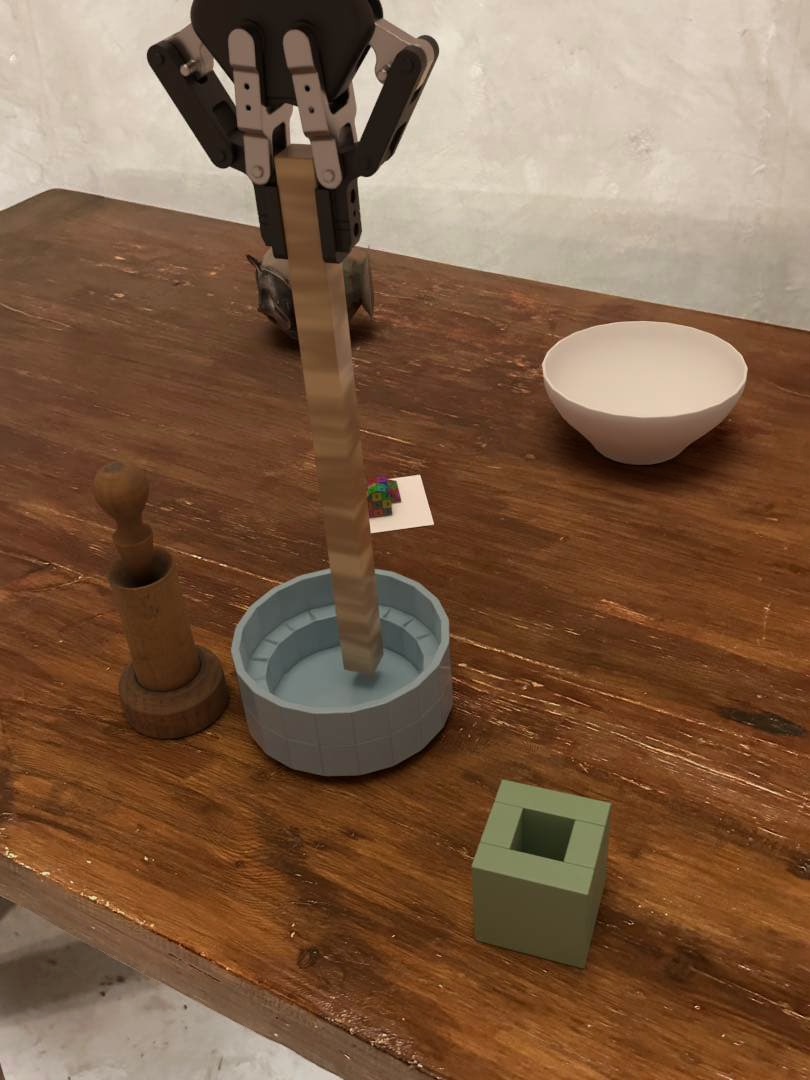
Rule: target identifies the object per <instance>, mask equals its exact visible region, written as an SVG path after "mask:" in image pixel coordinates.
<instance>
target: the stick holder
mask: <svg viewBox="0 0 810 1080" xmlns="http://www.w3.org/2000/svg"><path fill="white" fill-rule="evenodd" d="M611 812H612V803H611V802H608V801H604V800H600V799H599V800H598V799H594V798H590V797H587V796H586V797H585V796H581V795H577V794H571V793H566V792H563V791H559V790H553V789H549V788H544V787H540V786H536V785H535V786H534V785H530V784H526V783H522V782H521V783H520V782H517V781H512V780H507V779H501V782H500V784H499V787H498V790H497V793H496V795H495V798H494V802H493V804H492V806H491V809H490V812H489V816H488V818H487V821H486V823H485V826H484V829H483V833H482V836H481V838H480V841H479V843H478V846H477V848H476V852H475V854H474V858H473V859H472V863H471V866H470V867H471V869H470V870H471V888H472V891H471V892H472V907H473V928H474V929H473V930H474V941H476V942H480V943H484V944H488V945H491V946H496V947H499V948H503V949H506V950H511V951H514V952H519V953H521V954H526V955H530V956H534V957H537V958H541V959H543V960H544V959H545V960H548V961H553V962H556V963H559V964H564V965H567V966H570V967H571V966H572V967H575V968H579V969H582V970H584V969H585V968H586V964H587V960H588V955H589V951H590V947H591V942H592V939H593V935H594V931H595V926H596V922H597V918H598V914H599V910H600V906H601V900H602V898H603V893H604V890H605V884H606V881H607V874H608V857H609V844H610V843H609V842H610V828H611V827H610V826H611Z"/></svg>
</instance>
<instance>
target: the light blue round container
mask: <svg viewBox="0 0 810 1080" xmlns="http://www.w3.org/2000/svg"><path fill="white" fill-rule="evenodd" d="M375 577H376V586H377V596H378V605H379V615H380V624H381V633H382V643H383V652H384V655H383V657H382V659H381V661H380V663H379V665H378V667H377V669H376V671H375V673H374V674H373V675H368V674H363V673H358V672H353V671H348V670H344V667H343V659H342V652H341V645H340V637H339V630H338V623H337V616H336V608H335V601H334V594H333V586H332V579H331V572H330V567H329V568H326V569H320V570H317V571H313V572H309V573H308V572H307V573H305V574H300V575H298V576H296V577H294V578H291V579H289V580H287V581H285V582H283V583H281V584H278V585H276V586H274V587H273V588H271V589H269V590H268V591H267V592H266V593H265V594H263V595H262V596H261V597H260V598H258V599H257V600H256V601H254V602H253V603H252V604H251V605H250V606H249V607H248V608H247V610H246V611H245V613H244V614H243V616H242V617H241V618H240V620H239V621H238V622H237V624H236V626H235V628H234V632H233V638H232V643H231V647H230V654H231V659H232V664H233V667H234V672H235V677H236V681H237V687H238V692H239V696H240V700H241V701H240V702H241V705H242V709H243V714H244V718H245V723H246V726H247V730H248V733H249V735H250V736H251V738H252V739H253V740H254V741H255V743H256V744H257V745H258V746H259V747H260V749H261V750H262V751H263V752H264V754H265V755H267V756H268V757H270V758H272V759H273V760H275V761H277V762H279V763H281V764H282V765H284V766H286V767H288V768H290V769H292V770H295V771H300V772H305V773H309V774H313V775H318V776H320V777H321V776H322V777H349V776H350V777H354V776H355V777H356V776H363V775H366V774H370V773H375V772H377V771H381V770H384V769H389V768H392V767H394V766H396V765H398V764H400V763H402V762H403V761H405V760H407V759H408V758H410V757H412V756H414V755H416V754H418V753H419V752H421V751H422V750H423V749H424V748H425V747H426V746H427V745H428V744H429V743H430V742H431V741H432V740H433V739H434V738H435V737H436V736H437V735H438V734H439V733H440V732H441V731H442V729H444V727H445V724H446V722H447V720H448V717H449V715H450V712H451V710H452V708H453V706H454V686H453V685H454V684H453V681H454V680H453V664H452V645H451V631H450V630H451V628H450V627H451V626H450V618H449V617H448V614H447V613H446V610H445V609H444V607H443V605H442V604H441V601H440V599H438V597H437V596H436V595H434V594H433V593H432V592H431V591H429V589H427V588H426V587H425V586H424V585H422V584H421V583H420V582H418V581H416V580H414V579H411V578H409V577H406V576H404V575H402V574H400V573H397V572H395V571H392V570H385V569H378V568H375Z"/></svg>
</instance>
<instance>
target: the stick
mask: <svg viewBox="0 0 810 1080" xmlns="http://www.w3.org/2000/svg"><path fill="white" fill-rule="evenodd" d="M274 163H275V170H276V178H277V185H278V191H279V198H280V206H281V213H282V220H283V227H284V235H285V242H286V249H287V257H288V265H289V272H290V280H291V287H292V294H293V302H294V309H295V316H296V324H297V331H298V338H299V341H298V345H299V352H300V359H301V367H302V373H303V374H302V375H303V381H304V388H305V396H306V401H307V402H306V403H307V411H308V417H309V426H310V433H311V439H312V447H313V455H314V461H315V469H316V475H317V483H318V490H319V497H320V504H321V505H320V506H321V513H322V519H323V527H324V533H325V543H326V551H327V556H328V565H329V568H330V572H331V579H332V586H333V594H334V601H335V608H336V616H337V623H338V630H339V637H340V645H341V652H342V659H343V667H344V670H348V671H353V672H358V673H363V674H368V675H373V674H374V673H375V671H376V669H377V667H378V665H379V663H380V661H381V659H382V657H383V655H384V652H383V643H382V633H381V624H380V615H379V605H378V596H377V586H376V577H375V569H376V568H375V560H374V558H375V557H374V550H373V549H374V548H373V541H372V533H371V530H370V521H369V511H368V502H367V493H366V483H365V479H366V476H365V466H364V457H363V456H364V455H363V447H362V437H361V429H360V428H361V427H360V418H359V409H358V399H357V391H356V380H355V372H354V363H353V361H354V360H353V353H352V344H351V335H350V326H349V322H348V314H347V305H346V295H345V286H344V277H343V267H342V262H341V263H340V264H334V263H325V262H324V261H323V257H322V249H321V240H320V232H319V224H318V215H317V207H316V198H315V190H314V189H315V188H318V187H319V186H320V185H321V184H320V182H319V181H318V179H317V174H316V169H315V164H314V159H313V154H312V149H311V144H309V143H291V144H290V145H289V146H288V147H286V148H285V149H284V150H283V151H281V152H280V153H279V154H278V155H276V156H275V157H274Z"/></svg>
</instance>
